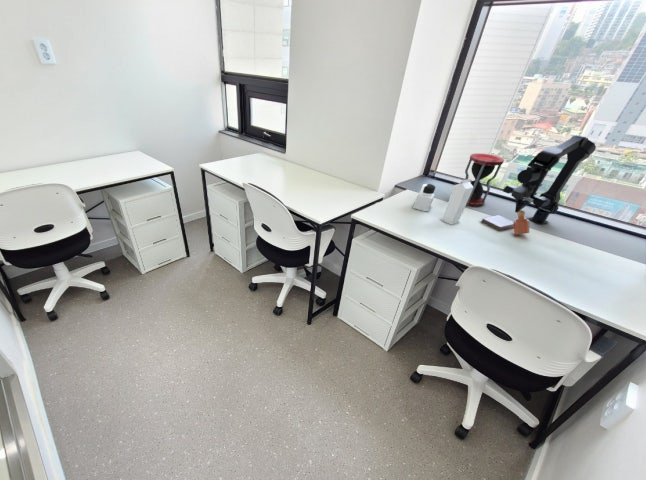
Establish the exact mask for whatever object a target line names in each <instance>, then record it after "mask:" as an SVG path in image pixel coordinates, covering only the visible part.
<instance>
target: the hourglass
mask: <svg viewBox="0 0 646 480" xmlns="http://www.w3.org/2000/svg"><path fill="white" fill-rule="evenodd" d="M472 162H473V163H472ZM504 162H505V159H504V158H502V157H500V156H498V155H494V154H490V153H472V154H470V156H469V160H468V163H467V165H466V167H465V170H464V174H465V178H464V179H463V180H467V179H469V173H468V171H469V168H470V167H471V170H470V171H471V174H472V176H473V178H474V180H472V181H470V183H471V184H472V186H473V190H472V192H471V194H470V197H469V199H468V201H467V204H466V206H468V207H482V206H483V205H485V203H486V199H487V197H488V195H489V192H490V190H491V186H490V183H491V181H493V180H494V179H495V178H497V176H498V174H499V171H500V169H501V167H502V165H503V164H504ZM471 163H472V165H471ZM496 166H497V168H496ZM495 168H496V170H495ZM494 170H495V172H494ZM493 172H494V174H493V175H492V176H491V178H489V179H487V181H486V184H485V185H486V192H485V194H484V187H483V184H482V183H481V181H482V180H483V179H485V178H487V177H488V176H490V175H491V174H492V173H493ZM463 180H462V181H461V182H460V183H459V184H461V183H462V182H463ZM483 194H484V196H483ZM482 196H483V197H482Z"/></svg>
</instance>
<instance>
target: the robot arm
mask: <svg viewBox="0 0 646 480" xmlns="http://www.w3.org/2000/svg"><path fill="white" fill-rule="evenodd" d="M596 148H597V145H596V144H595V142H593V141H592V140H589V138H588V137H587V136H584V135H578V134H575V135H572V136H571V138H569V139H568V140H566V141H564V142H562V143H560V144H558V145H557V146H555V147H551V148H545V149H542V150H541V151H540V152H538V153H537V154H536V155H535V156H534V157H533V158H532V159H531V161H529V162H528V164H527V167H526V169H522V170H521V171H520V172H519V173H518V174H517V179H516V180H517V181H518V183H520V184H521V185H519V186H517V185H515V184H511V185H506V186H505V187H504V188H503V191H502V192H503V193H506V194H511V195H510V196H511V197H512V198H513V199H515V209H514V212H515V213H516V214H517V212H518V211H520V210H522V209H524V208H525V207H527V206H528V205H530V204H531V203H532V204H533V205H534V206H533V209H536V211H535V212H534V214H533V216H532V217H528V220H529V221H531V222H534V223H536V224H538V225H543V224H547V223H549V220H547V219H548V218H549V216H550V215H555V214H556V213H557V212H558V210H559V202H560V200H561V192H562V190H563V189H564V187H565V186H566V184H567V183H568V181H569V179H570V178H571V177H572V176H573V174H574V172H575V171H576V169H577V168H578V166H579V165H580V164H581V163H582V162H583V161H585V160H587V159H588V158H589V157H590V156H591V155H592V154H593V153H594V152H595V151H596ZM564 156H566V162H565V163H564V165H563V166H562V168H561V169H560V171H559V173H558V174H557V176H556V177H555V179H554V181H553V182H552V183H551V185H550V187H549V188H548V189H547V190H546V191H544V192H542V193H540V195H539V196H537V194H538V190H539V189H540V187H542V186H543V182H544V180H545V178H546V176H547V175H548V173H549V172H550V171H552V169H553V168H554V167H555V166H556V165H557V164H558V163H559V162H560V159H561V158H562V157H564Z"/></svg>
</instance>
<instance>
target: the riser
mask: <svg viewBox="0 0 646 480" xmlns="http://www.w3.org/2000/svg"><path fill="white" fill-rule="evenodd" d="M513 222H514V221H512V220H510V219H508V218H506V217H504V216H501V215H499V214H498V215H492V216H487V217H483V218H481V221H480V223H482V224H483V225H486V226H487V227H490V228H491V229H493V230H496V231H497V232H499V231H504V230H508V229H512V228H514V227H513Z"/></svg>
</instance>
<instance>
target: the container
mask: <svg viewBox="0 0 646 480" xmlns="http://www.w3.org/2000/svg"><path fill="white" fill-rule="evenodd" d="M435 190H436V186H435V185H434V184H431V183H424V184H422V185H421V189H420V191H419V192H418V194H417V195H416V198H415V201H414V204H413V207H412V208H413V209H414V210H418V211H423V212H429V210H430V208H431V206H432V203H433V200H434V199H435V198H434V197H435V195H436V194H435Z"/></svg>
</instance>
